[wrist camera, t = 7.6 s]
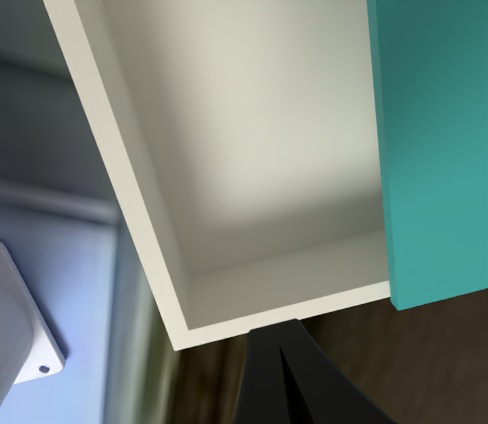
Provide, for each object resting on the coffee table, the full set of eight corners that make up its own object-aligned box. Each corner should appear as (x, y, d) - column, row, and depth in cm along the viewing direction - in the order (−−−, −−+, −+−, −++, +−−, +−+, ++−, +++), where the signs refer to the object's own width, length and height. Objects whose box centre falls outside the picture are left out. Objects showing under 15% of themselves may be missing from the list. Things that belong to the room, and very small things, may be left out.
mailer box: (179, 287, 20) (174, 350, 15) (31, -153, 13) (-55, -261, 9) (439, 222, 20) (506, 267, 16) (431, -244, 13) (545, -393, 9)
